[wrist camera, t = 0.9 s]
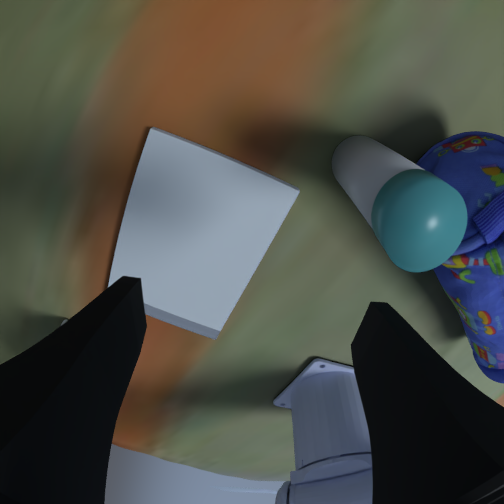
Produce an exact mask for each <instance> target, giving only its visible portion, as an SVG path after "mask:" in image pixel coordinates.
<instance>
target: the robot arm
mask: <svg viewBox="0 0 504 504" xmlns="http://www.w3.org/2000/svg"><path fill="white" fill-rule="evenodd" d="M146 328H147V324H146V316H145V309H144V301H143V292H142V283H141V278H137V277H129V276H122V277H121V278H119V279H118V280H117V281H115V282H114V283H113V284H112V285H111V286H109V287H108V288H107V289H106V290H105V291H103V292H102V293H101V294H100V295H99V296H98V297H96V298H95V299H94V300H93V301H92V302H90V303H89V304H88V305H87V306H85V307H84V308H83V309H82V310H81V311H79V312H78V313H77V314H76V315H74V316H73V317H72V318H71V319H69V320H68V321H67V322H65V323H64V324H63V325H61V326H60V327H59V328H58V329H56V330H55V331H54V332H52V333H51V334H50V335H48V336H47V337H45V338H44V339H42V340H41V341H40V342H38V343H36V344H35V345H33V346H32V347H30V348H29V349H27V350H26V351H24V352H22V353H21V354H19V355H17V356H15V357H14V358H12V359H10V360H8V361H6V362H5V363H3V364H1V365H0V504H104V501H105V487H106V477H107V468H108V462H109V456H110V449H111V444H112V439H113V434H114V429H115V424H116V420H117V416H118V413H119V410H120V407H121V404H122V401H123V398H124V395H125V393H126V390H127V387H128V385H129V382H130V379H131V376H132V374H133V371H134V368H135V366H136V363H137V360H138V358H139V355H140V352H141V348H142V344H143V340H144V336H145V332H146ZM351 351H352V360H353V367H350V366H346V365H342V364H339V363H335V362H331V361H327V360H323V359H319V358H317V359H314V360H313V361H312V362H311V363H310V364H309V365H308V366H307V367H306V368H305V369H304V370H303V371H302V372H301V373H300V374H299V375H298V376H297V377H296V379H295V380H294V381H293V382H292V383H291V384H290V385H289V386H288V387H287V388H286V389H285V390H284V391H283V392H282V393H281V394H280V395H279V396H278V397H277V398H276V399H275V400H274V401H273V402H274V405H275V406H279V407H284V408H289V409H291V410H292V423H293V437H294V451H295V467H296V471H291V472H290V478H291V481H286V482H284V483H283V485H282V487H281V488H280V489H279V490H278V492H277V496H276V502H275V504H504V407H503V406H501V405H499V404H498V403H496V402H495V401H494V400H492V399H491V398H489V397H488V396H486V395H485V394H484V393H482V392H481V391H480V390H478V389H477V388H476V387H474V386H473V385H472V384H471V383H470V382H468V381H467V380H466V379H465V378H464V377H462V376H461V375H460V374H459V373H458V372H457V371H456V370H454V369H453V368H452V367H451V366H450V365H449V364H448V363H447V362H446V361H445V360H444V359H443V358H442V357H441V356H440V355H439V354H438V353H437V352H436V351H435V350H434V349H433V348H432V347H431V346H430V345H429V344H428V343H427V342H426V341H425V340H424V339H423V338H422V337H421V336H420V335H419V334H418V333H417V332H416V331H415V330H414V329H413V328H412V327H411V326H410V325H409V324H408V322H407V321H406V320H405V319H404V318H403V317H402V316H401V315H400V314H399V313H398V312H397V311H396V310H394V309H393V308H392V307H391V306H390V305H389V304H388V303H385V302H370V304H369V307H368V309H367V311H366V314H365V316H364V318H363V320H362V322H361V325H360V327H359V329H358V331H357V333H356V335H355V338H354V340H353V342H352V344H351Z"/></svg>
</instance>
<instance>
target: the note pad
mask: <svg viewBox="0 0 504 504" xmlns="http://www.w3.org/2000/svg"><path fill="white" fill-rule="evenodd" d="M299 192H300V190H299V188H298V187H295V186H293V185H291V184H289V183H287V182H285V181H283V180H281V179H278V178H276V177H274V176H272V175H270V174H268V173H265V172H263V171H261V170H259V169H256V168H254V167H252V166H250V165H247V164H245V163H243V162H241V161H238V160H236V159H234V158H231V157H229V156H227V155H224V154H222V153H219V152H217V151H215V150H212V149H210V148H207V147H205V146H202V145H200V144H197V143H195V142H192V141H190V140H187V139H185V138H182V137H180V136H177V135H174V134H172V133H169V132H166V131H164V130H161V129H158V128H156V127H153V128H151V129H150V131H149V134H148V137H147V140H146V143H145V146H144V149H143V152H142V155H141V158H140V161H139V164H138V167H137V171H136V174H135V177H134V180H133V184H132V187H131V191H130V194H129V198H128V201H127V205H126V209H125V212H124V216H123V220H122V224H121V228H120V232H119V236H118V241H117V245H116V250H115V254H114V259H113V263H112V268H111V273H110V279H109V284H108V287H109V286H111V285H112V284H113V283H114V282H115V281H117V280H118V279H119V278H121V277H122V276H129V277H137V278H141V283H142V292H143V301H144V309H145V314H147V315H149V316H152V317H154V318H157V319H159V320H162V321H165V322H167V323H170V324H173V325H175V326H178V327H181V328H183V329H186V330H189V331H192V332H195V333H197V334H200V335H203V336H206V337H209V338H212V339H215V340H216V338H217V336H218V335H219V333H220V331H221V329H222V327H223V326H224V324H225V322H226V321H227V319H228V317H229V315H230V314H231V312H232V310H233V308H234V307H235V305H236V303H237V301H238V300H239V298H240V296H241V294H242V293H243V291H244V289H245V287H246V286H247V284H248V282H249V281H250V279H251V277H252V275H253V274H254V272H255V270H256V268H257V266H258V265H259V263H260V261H261V259H262V258H263V256H264V254H265V252H266V251H267V249H268V247H269V245H270V244H271V242H272V240H273V238H274V237H275V235H276V233H277V231H278V229H279V228H280V226H281V224H282V222H283V221H284V219H285V217H286V215H287V214H288V212H289V210H290V208H291V206H292V205H293V203H294V201H295V199H296V197H297V196H298V194H299Z"/></svg>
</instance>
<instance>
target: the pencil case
mask: <svg viewBox="0 0 504 504" xmlns="http://www.w3.org/2000/svg"><path fill="white" fill-rule="evenodd" d="M416 165H418V166H419V167H421V168H422V169H424V170H426V171H429V172H431V173H432V174H434V175H435V176H437V177H438V178H440V179H441V180H443V181H444V182H446V183H447V184H449V185H450V186H452V187H453V188H454V189H456V190H457V191H458V192H459V193H460V195H461V196H462V198H463V200H464V202H465V205H466V209H467V226H466V231H465V234H464V237H463V239H462V241H461V243H460V245H459V246H458V248H457V249H456V251H455V252H454V253H453V254H452V255H451V256H450V258H448V259H447V260H446V261H445V262H444V263H442V264H441V265H439V266H437V267H436V268H433V270H434V272H435V274H436V275H437V277H438V279H439V282H440V284H441V286H442V288H443V289H444V291H445V293H446V294H447V296H448V297H449V299H450V300H451V301H452V303H453V304H454V306H455V308H456V309H457V311H458V313H459V315H460V318H461V321H462V323H463V327H464V330H465V333H466V336H467V338H468V340H469V343H470V345H471V348H472V349H473V355H474V358H475V360H476V362H477V364H478V366H479V368H480V369H481V370H482V372H483V373H484V374H485V375H486V376H487V377H488V378H490V379H491V380H493V381H496V382H499V383H504V137H502V136H500V135H496V134H492V133H487V132H477V131H475V132H464V133H460V134H456V135H453V136H451V137H449V138H447V139H445V140H444V141H442V142H439V143H437V144H436V145H434V146H433V147H431V148H430V149H429V150H428V151H427V152H426V153H425V154H424V155H423V157H422V158H421V159H420V160H419V161H418V162H417V164H416Z"/></svg>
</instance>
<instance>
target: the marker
mask: <svg viewBox="0 0 504 504" xmlns="http://www.w3.org/2000/svg"><path fill="white" fill-rule="evenodd" d="M332 171H333V174H334V176H335V178H336V180H337V181H338V182H339V184H340V185H341V186H342V188H343V189H344V190H345V192H346V193H347V194H348V196H349V197H350V198H351V200H352V201H353V203H354V204H355V205H356V207H357V208H358V209H359V211H360V212H361V214H362V215H363V216H364V218H365V219H366V221H367V222H368V224H369V225H370V226H371V228H372V229H373V231H374V233H375V235H376V237H377V239H378V240H379V242H380V243H381V245H382V246H383V248H384V249H385V251H386V252H387V254H388V256H389V257H390V259H391V260H392V261H393V263H394V264H395V265H397V266H398V267H399V268H401V269H403V270H406V271H409V272H424V271H428V270H431V269H433V268H436V267H437V266H439V265H441V264H442V263H444V262H445V261H446V260H447V259H448V258H450V256H451V255H452V254H453V253H454V252H455V251H456V249H457V248H458V246H459V245H460V243H461V241H462V239H463V237H464V234H465V231H466V226H467V209H466V205H465V202H464V200H463V198H462V196H461V195H460V193H459V192H458V191H457V190H456V189H454V188H453V187H452V186H450V185H449V184H447V183H446V182H444V181H443V180H441V179H440V178H438V177H437V176H435V175H434V174H432V173H431V172H429V171H426V170H424V169H422V168H421V167H419V166H418V165H416V164H415V163H413V162H411V161H410V160H408V159H406V158H405V157H403V156H402V155H400V154H398V153H396V152H395V151H393V150H391V149H390V148H388V147H386V146H384V145H383V144H381V143H379V142H377V141H376V140H374V139H372V138H370V137H367V136H362V135H356V136H352V137H349V138H347V139H345V140H344V141H342V142H341V143H340V144H339V145H338V146H337V148H336V149H335V151H334V153H333V157H332Z"/></svg>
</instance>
